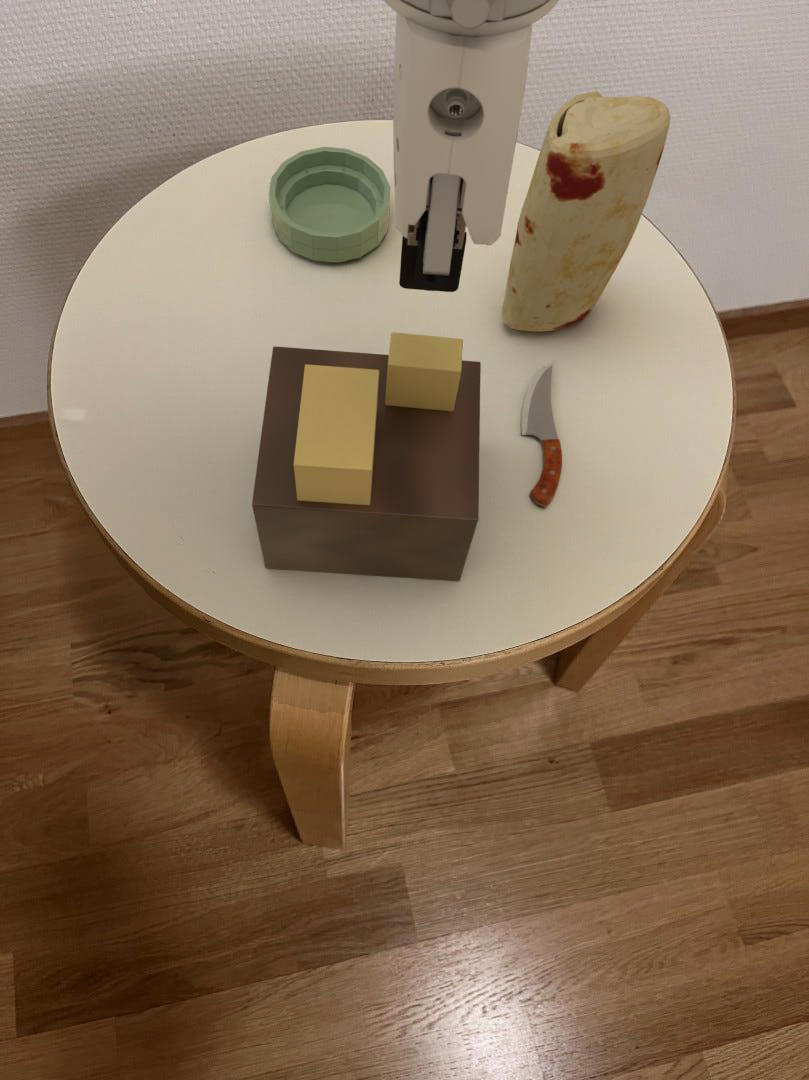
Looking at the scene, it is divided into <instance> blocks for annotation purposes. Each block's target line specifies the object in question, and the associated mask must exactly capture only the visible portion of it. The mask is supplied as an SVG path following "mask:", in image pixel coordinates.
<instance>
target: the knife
mask: <svg viewBox="0 0 809 1080" xmlns="http://www.w3.org/2000/svg"><path fill="white" fill-rule="evenodd" d="M553 367H554V361H553V360H552V361H550V362H548V363H547V364H545V365H544V366H543V367H542V368H541V369H540V370H538V372H536V374H535V375H534V376H533V378H532V380H531V381H530V383H529V385H528V387H527V389H526V392H525V396H524V399H523V403H522V404H523V405H522V411H521V435H522V436H533V437H536V438H538V439H539V441H540V444H541V446H542V452H543V453H542V454H543V465H542V471H541V475H540V477H539V479H538V481H537V482H536V484H535V485H534V487H533V488H532V489H531V490H530V492H529V493H530V494H529V496H530V499H531V500H532V501H533V502H534V503H535V504H537V506H539V507H542V508H547V506H549V505H550V503H551V502H552V501H553V498H554V496H555V494H556V491H557V489H558V486H559V483H560V479H561V475H562V469H563V452H562V445H561V441H560V438H559V436H558V432H557V428H556V425H555V419H554V414H553V407H552V374H553Z"/></svg>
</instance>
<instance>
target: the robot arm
mask: <svg viewBox="0 0 809 1080" xmlns="http://www.w3.org/2000/svg"><path fill="white" fill-rule="evenodd" d="M382 1H383V2H384V3H385V4H386V5H387V6H388V7H389V8H390V9H392V10H393V11H395V12H396V14H395V15H396V16H395V35H394V36H395V37H394V64H393V65H394V68H393V94H392V95H393V96H392V97H393V99H392V100H393V101H392V102H393V103H392V104H393V105H392V109H393V111H392V128H393V129H392V136H393V137H392V138H393V139H392V143H393V144H392V145H393V148H392V149H393V150H392V151H393V184H394V185H393V187H394V214H395V216H394V217H395V228H396V230H397V231H398V232H399V234H400V235H401V236H402V237H401V252H400V268H399V283H398V284H399V287H401V288H402V289H406V290H419V291H428V292H446V293H454V292H456V291H458V290H459V286H460V280H461V274H462V269H463V261H464V256H465V251H466V250H465V249H466V244H467V236H468V235H467V231H468V233H469V236H470V239H471V240H472V243H473V244H474V245H486V246H492V245H494V244H495V243H496V242H497V241H498V240H499V239H500V237H501V235H502V230H503V224H504V223H503V222H504V216H505V212H506V211H505V210H506V203H507V198H508V192H509V187H510V181H511V173H512V168H513V163H514V158H515V152H516V145H517V139H518V133H519V128H520V121H521V115H522V109H523V102H524V97H525V90H526V82H527V76H528V75H527V74H528V68H529V59H530V58H529V57H530V51H531V42H532V34H533V24H534V23H537V22H538V21H540V20H541V19H543V18H544V17H545V16H546V15H548V14H549V13H550V12H551V11H552V10H553V9H554V8H555V7H556V5H557V3H558V2H559V0H382ZM466 228H467V231H466Z"/></svg>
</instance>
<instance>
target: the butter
mask: <svg viewBox="0 0 809 1080" xmlns="http://www.w3.org/2000/svg"><path fill="white" fill-rule="evenodd" d="M378 383H379V370H373V369H360V368H346V367H333V366H319V365H305V369H304V378H303V387H302V395H301V404H300V413H299V422H298V430H297V439H296V448H295V457H294V473H295V482H296V492H297V500H298V501H312V502H327V503H341V504H355V505H370V501H371V487H372V473H373V459H374V445H375V431H376V417H377V401H378Z"/></svg>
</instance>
